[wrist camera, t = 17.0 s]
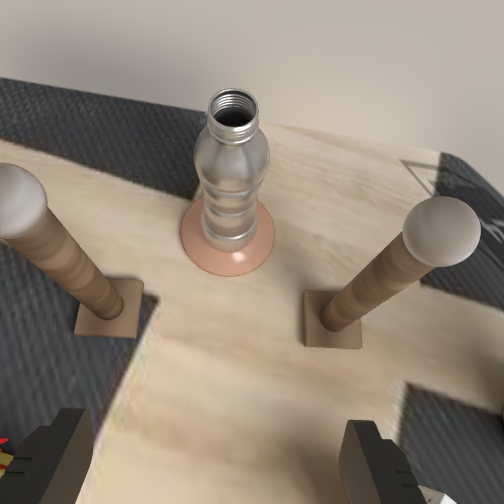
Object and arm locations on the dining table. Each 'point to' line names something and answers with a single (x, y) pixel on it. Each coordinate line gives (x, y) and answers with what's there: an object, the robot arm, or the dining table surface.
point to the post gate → (315, 302)
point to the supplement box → (435, 496)
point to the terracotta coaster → (223, 261)
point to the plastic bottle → (231, 169)
